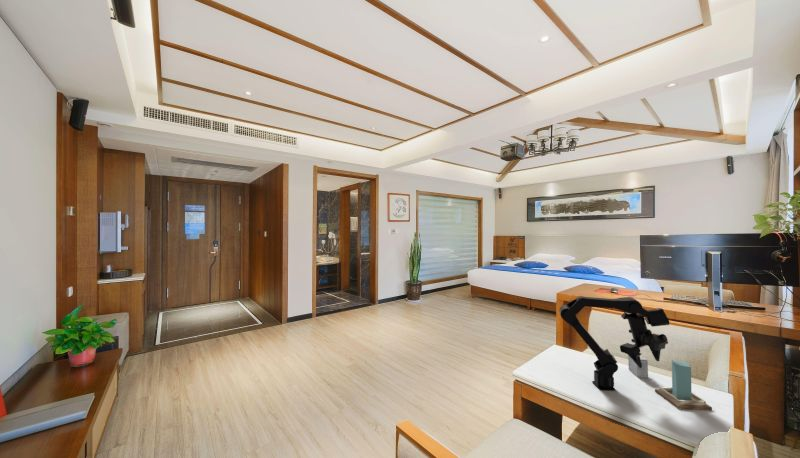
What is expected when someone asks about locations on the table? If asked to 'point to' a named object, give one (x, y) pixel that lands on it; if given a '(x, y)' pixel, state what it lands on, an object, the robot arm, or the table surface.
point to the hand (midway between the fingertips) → (649, 364)
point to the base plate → (683, 404)
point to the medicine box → (637, 370)
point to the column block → (681, 380)
